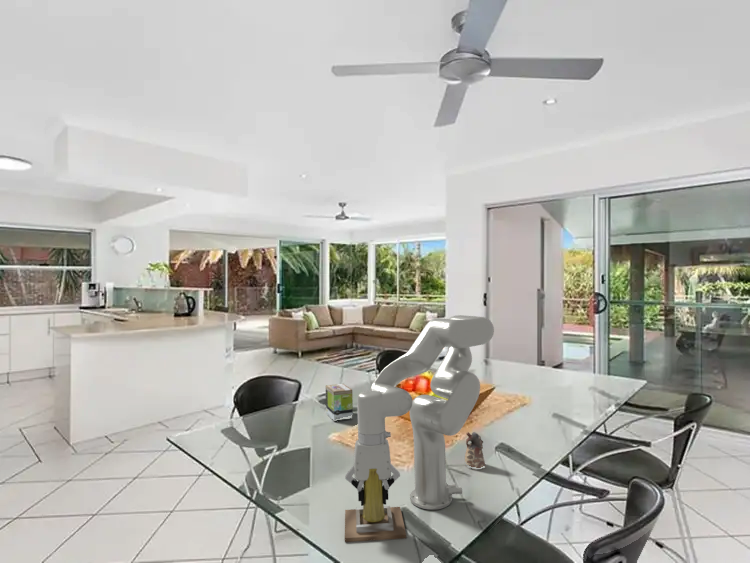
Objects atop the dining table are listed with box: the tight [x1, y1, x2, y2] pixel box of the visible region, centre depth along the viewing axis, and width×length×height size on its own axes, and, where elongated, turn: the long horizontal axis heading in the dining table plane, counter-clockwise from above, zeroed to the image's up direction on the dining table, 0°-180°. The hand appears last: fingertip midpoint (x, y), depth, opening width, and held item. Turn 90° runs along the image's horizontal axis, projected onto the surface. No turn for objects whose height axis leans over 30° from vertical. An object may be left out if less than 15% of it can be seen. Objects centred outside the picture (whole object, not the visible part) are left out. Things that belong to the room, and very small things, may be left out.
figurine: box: [464, 431, 486, 468], centre depth 157 cm, size 7×7×12 cm
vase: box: [362, 469, 385, 522], centre depth 121 cm, size 6×6×14 cm
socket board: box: [344, 505, 407, 543], centre depth 121 cm, size 16×14×2 cm
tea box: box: [325, 383, 354, 421], centre depth 218 cm, size 15×10×15 cm
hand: (373, 502), depth 121 cm, fingers closed on vase, 5 cm apart
